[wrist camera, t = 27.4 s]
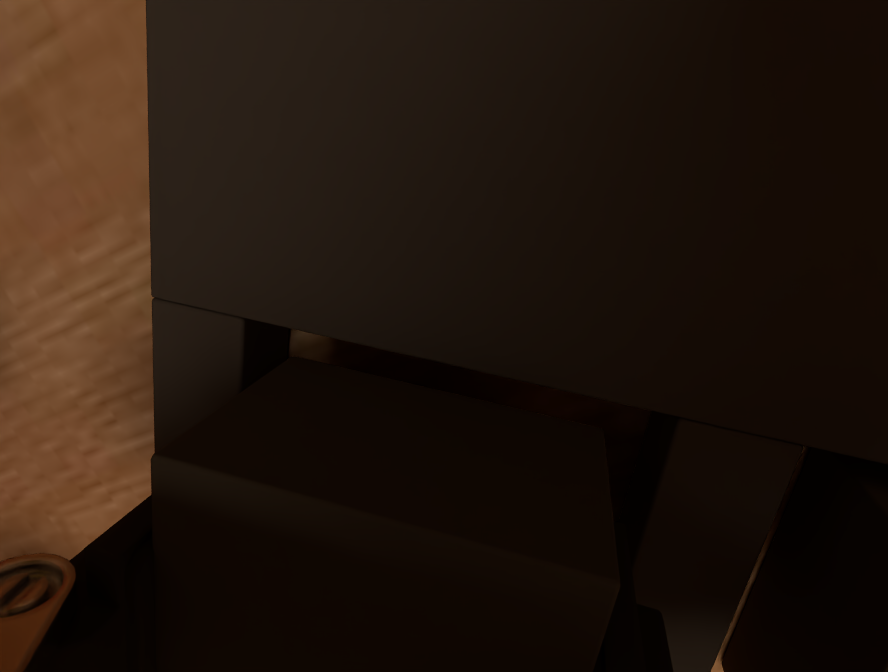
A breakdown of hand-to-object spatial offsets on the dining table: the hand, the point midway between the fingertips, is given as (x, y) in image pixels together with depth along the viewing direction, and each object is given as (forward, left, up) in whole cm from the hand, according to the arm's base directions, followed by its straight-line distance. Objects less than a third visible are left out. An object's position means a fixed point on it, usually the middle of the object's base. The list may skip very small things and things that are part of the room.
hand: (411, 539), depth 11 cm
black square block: (0, 0, -1) cm, 1 cm away
